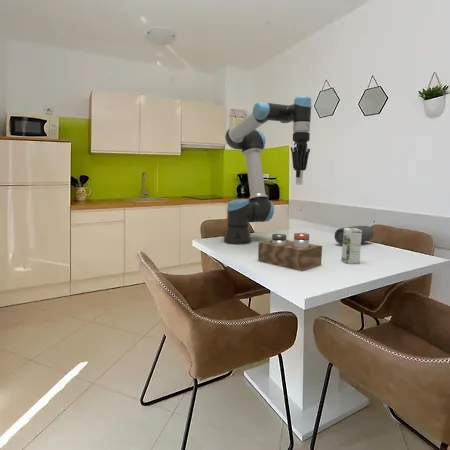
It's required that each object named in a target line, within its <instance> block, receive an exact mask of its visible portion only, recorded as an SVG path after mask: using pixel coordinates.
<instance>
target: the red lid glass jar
mask: <svg viewBox="0 0 450 450" xmlns="http://www.w3.org/2000/svg"><path fill="white" fill-rule="evenodd" d="M293 241H294V247H298V248H308V247H309V244H310V233H307V232H306V233H305V232H295V233H293Z"/></svg>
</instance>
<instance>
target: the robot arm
mask: <svg viewBox="0 0 450 450" xmlns="http://www.w3.org/2000/svg"><path fill="white" fill-rule="evenodd" d="M311 98H312V97H311V96H308V95H307V96H306V95H299V96H295V98H294V99H293V103H292V104H279V103H273V102H272V103H271V102H266V101H262V102H261V101H257V102H256V103H255V104H254V106H253V108H252V112H251V113H249V114H248V115H247V116H246V117H245V118H243V119H242V120H241V121H240V122H239V123H237V124H235V125H231V126H230V127H228V129H227V130H226V133H225V136H224V137H225V142H226V144H227V145H228V146H229V147H230V148H231V149H234V150H241V152H242V155H243V156H244V158H245V163H246V164H245V165H246V172H247V179H248V180H247V181H248V188H249V195H250V196H249V198H237V199H233V200H230V201H228V203H227V210H226V211H227V216H226V218H227V219H226V221H227V224H226V225H227V227H226V231H225V233H224V236H223V242H224V243H226V244H231V245H232V244H233V245H245V244H251V243H252V236H251V233H250V230H249V229H250V228H249V223H264V222H269V221H271V219H272V218H273V216H274V213H275V204H274V203H273V201H272V200H269V199H270V198H269V196H268V195H267V194H266V190H265V182H264V181H265V180H264V173H263V164H262V158H261V154H262V153H263V150H264V149H265V148H266V147H265V146H266V137H265V135H264V133H263V132H262V131H261V130H259V129H258V128H259V127H261V126H262V125H264V124H265V123H266V122H268V121H273V122H280V124H281V123H282V124H289V123H293V125H292V131H293V133H292V142H294V144H293V146H291V147H290V152H291V158H292V160H291V161H292V168H293V170H294V171H295V185H301V186H302V185H303V182H304V181H303V180H304V179H303V178H304V171H306V170H307V166H308V159H309V155H310V152H311V148H308V142H309V141H310V140H311V138H310V137H311V136H310V135H311V134H310V131H311V116H312V115H311V113H312V111H311V110H312V99H311ZM257 129H258V130H257Z"/></svg>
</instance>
